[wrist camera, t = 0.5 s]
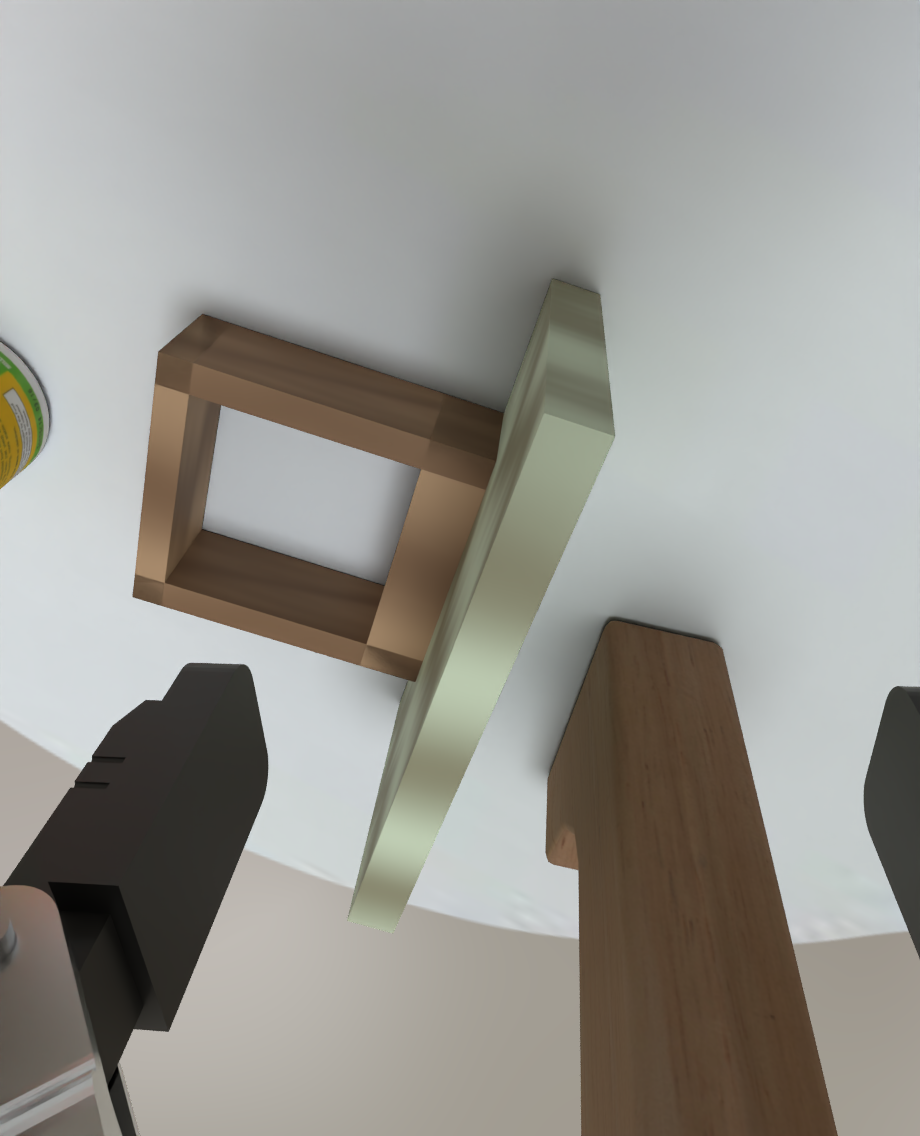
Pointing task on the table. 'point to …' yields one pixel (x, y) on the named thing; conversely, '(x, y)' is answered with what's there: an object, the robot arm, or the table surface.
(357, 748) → the table surface
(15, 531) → the table surface
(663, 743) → the wooden block
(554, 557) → the board
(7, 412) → the supplement bottle
